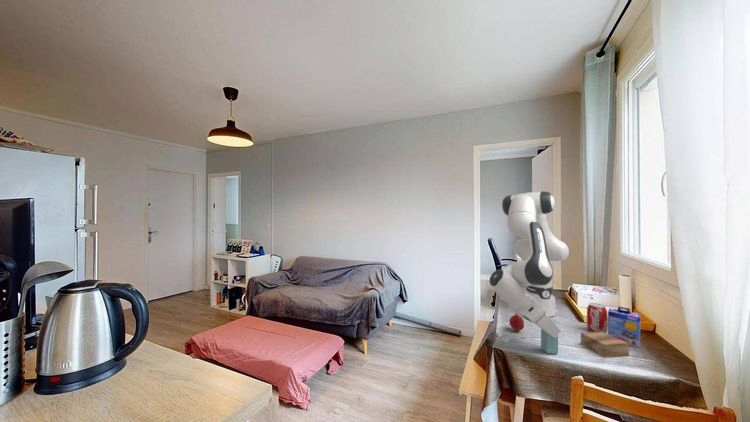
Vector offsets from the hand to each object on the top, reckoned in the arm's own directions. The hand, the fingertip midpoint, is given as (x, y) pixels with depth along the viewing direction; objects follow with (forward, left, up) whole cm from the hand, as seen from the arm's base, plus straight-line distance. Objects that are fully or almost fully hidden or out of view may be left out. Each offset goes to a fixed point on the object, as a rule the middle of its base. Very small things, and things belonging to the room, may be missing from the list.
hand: (551, 332), depth 104 cm
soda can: (-20, +31, -7) cm, 38 cm away
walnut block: (-3, +21, -8) cm, 23 cm away
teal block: (0, -1, -7) cm, 7 cm away
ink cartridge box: (-11, +35, -8) cm, 38 cm away
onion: (-18, -5, -7) cm, 20 cm away
